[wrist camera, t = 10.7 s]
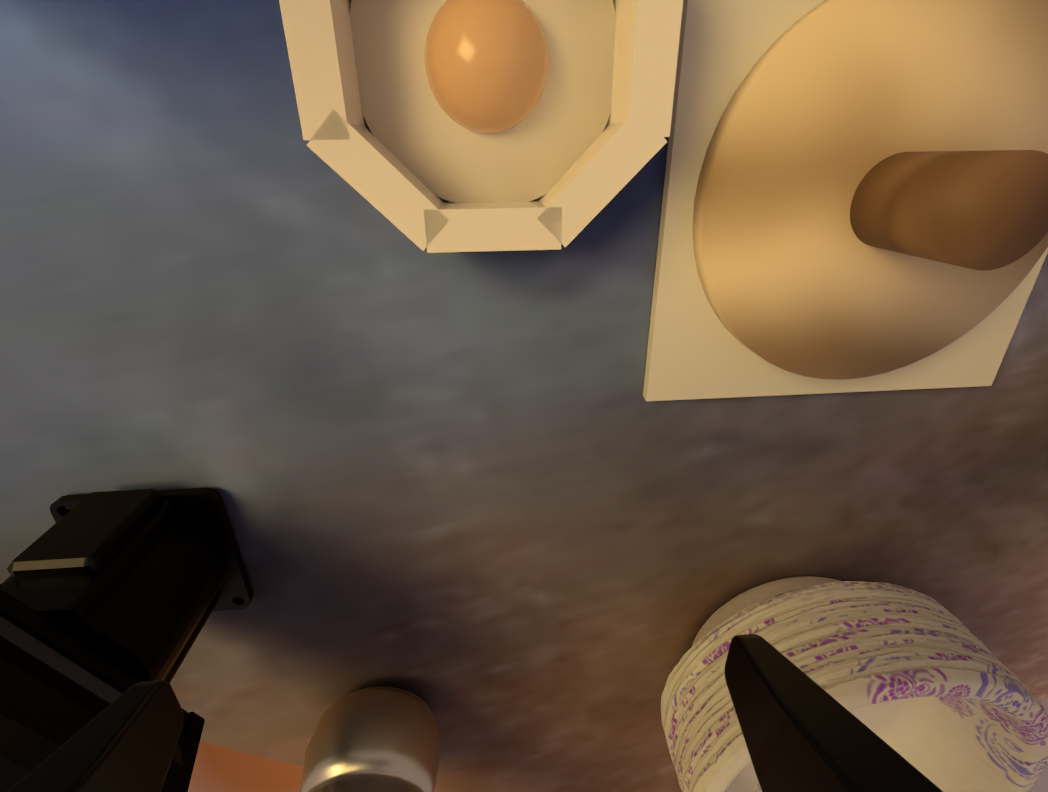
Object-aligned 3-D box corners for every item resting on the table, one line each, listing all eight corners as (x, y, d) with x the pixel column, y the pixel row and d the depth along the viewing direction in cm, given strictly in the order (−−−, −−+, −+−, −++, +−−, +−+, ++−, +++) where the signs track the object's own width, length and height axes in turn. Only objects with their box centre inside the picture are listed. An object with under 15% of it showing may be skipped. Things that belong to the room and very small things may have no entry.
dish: (626, 230, 19) (658, 247, 15) (353, 236, 18) (323, 255, 15) (652, -131, 15) (705, -220, 11) (296, -141, 14) (236, -238, 10)
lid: (977, 363, 21) (1113, 419, 17) (672, 376, 20) (727, 439, 16) (1135, -32, 15) (1404, -110, 11) (723, -38, 15) (831, -124, 10)
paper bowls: (600, 707, 30) (639, 882, 23) (719, 503, 24) (821, 652, 17) (815, 737, 33) (910, 899, 26) (967, 562, 27) (1144, 709, 20)
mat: (981, 381, 22) (991, 385, 22) (642, 396, 21) (646, 401, 21) (1163, -65, 16) (1184, -71, 15) (689, -74, 15) (696, -81, 14)
